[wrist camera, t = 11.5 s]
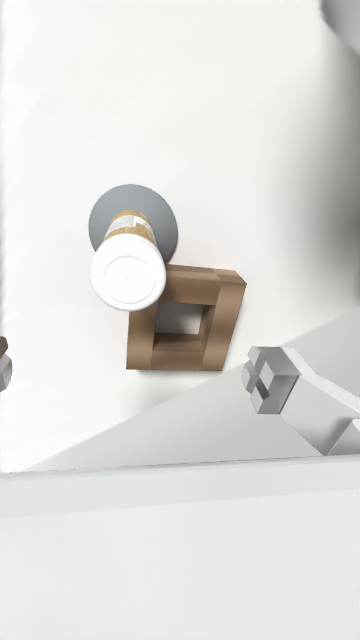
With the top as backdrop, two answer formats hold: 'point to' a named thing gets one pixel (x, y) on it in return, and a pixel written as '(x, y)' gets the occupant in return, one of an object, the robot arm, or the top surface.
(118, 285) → the sprinkles bottle
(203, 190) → the top surface
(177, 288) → the holder block
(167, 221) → the coaster
